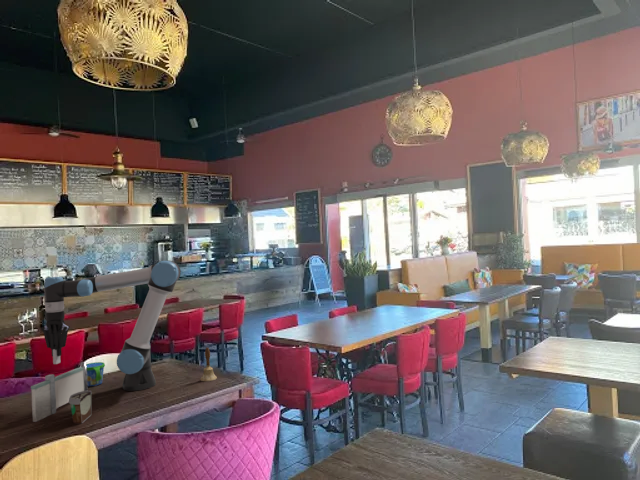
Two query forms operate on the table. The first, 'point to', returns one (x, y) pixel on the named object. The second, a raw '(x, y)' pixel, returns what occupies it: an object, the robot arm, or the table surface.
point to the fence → (48, 396)
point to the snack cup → (95, 373)
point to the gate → (68, 385)
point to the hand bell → (208, 369)
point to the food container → (80, 406)
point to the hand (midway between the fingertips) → (56, 363)
